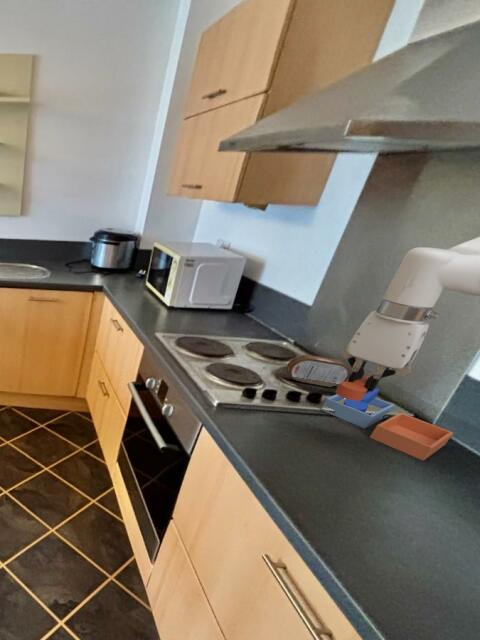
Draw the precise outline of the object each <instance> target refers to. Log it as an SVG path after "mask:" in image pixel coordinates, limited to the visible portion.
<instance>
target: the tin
mask: <svg viewBox="0 0 480 640" xmlns="http://www.w3.org/2000/svg"><path fill="white" fill-rule="evenodd" d="M285 369H286V370H285V371H286V374H287V375H288V374H289V375H288V377H290V376H291V377H299V378H304V379H311V380H318V381H324V382H331V383H336V384H340V383H341V382H343V381H346V382H347V381H348V380H349V378H350V376H351V371H350V368H349V367H348V365H347V364H346V363H345V362H344V361H342V360H340V359H334V358H328V357H324V356H319V355H312V354H301V355H298V356H296V357H294V358H292V359H291V360H290V361H288V363H287V365H286V368H285ZM291 377H290V378H291Z"/></svg>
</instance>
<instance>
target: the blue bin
mask: <svg viewBox="0 0 480 640" xmlns="http://www.w3.org/2000/svg"><path fill="white" fill-rule="evenodd" d="M342 399H344V398H343V397H341V396H339V395H337V394H336V393H335V394H334V395H331V396H329V397H327V398H326V399H325V401H324V403H323V404H322V406H326V407H328V408H331V409H333V410H335V411H336V412H335V414H334V413H332V412H329V411H327V410H324V409H321V408H320V411H322V412H324V413H327V414H329V415H332V416H334V417H336V418H339V419H341V420H343V421H346V422H348V423H350V424H352V425H355V426H358V427H360V428H363V429H367V428H369V427H370V426H373V425H374V424H376V423H378V422H380V421H382V420H383V419H385V418H388V416H385V417H384V418H383V416H384V415H385V414H387V413H389V412H390V411H391V412H392V410H393V409H394V408H395V406H396V404H394V403H392V402H389V401H385V400H384V399H383V400H382V399H380V398H378V397H376V398H374V399H373V400H372V401H371V402H369V403H368V404H370V405H373V406H376V407H379V408H382V409H381V410H379V411H377V412H375V413H373V414H371V415H369V414H366V413H364V412H361V411H359V410H356V409H354V408H351V407H349V406H346V405H344V404H341V403H339V402H337V401H340V400H342ZM391 412H390V413H391Z"/></svg>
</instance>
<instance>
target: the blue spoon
mask: <svg viewBox="0 0 480 640" xmlns="http://www.w3.org/2000/svg"><path fill="white" fill-rule="evenodd" d="M379 392H380V388H378V387H376V388H375V389H374V390H373V391H372V392H371V391H369V392H368V393H366V394H365V395H364V397H363V399H362V400H361V401H354V400H349V399H346V400H345V401H344V403H343V404H344V405H346V406H349V407H351V408H354V409H356V410H359V411H361V412H364V413H365V412H366V410H367V408H368V403H369V402H371V401H372V400H373V399H374V398H377V396H378V394H379Z"/></svg>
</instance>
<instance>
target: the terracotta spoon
mask: <svg viewBox="0 0 480 640" xmlns="http://www.w3.org/2000/svg"><path fill="white" fill-rule="evenodd" d="M369 377H371V376H370V375H364V376H362V378H361V379H358V380H355V381H354V382H353V383H352V382H347V381H343V382H341V383H340V384H339V386H337V388H336V389H335V395H336V394H337V395H339V396H341V397H343V398H346V399H349V400H354V401H361V400H362V399H363V397H364V395H365V393H366V392H367V389H366V388H365V387H364V385H365V383H366V381H367V379H368V378H369Z"/></svg>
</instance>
